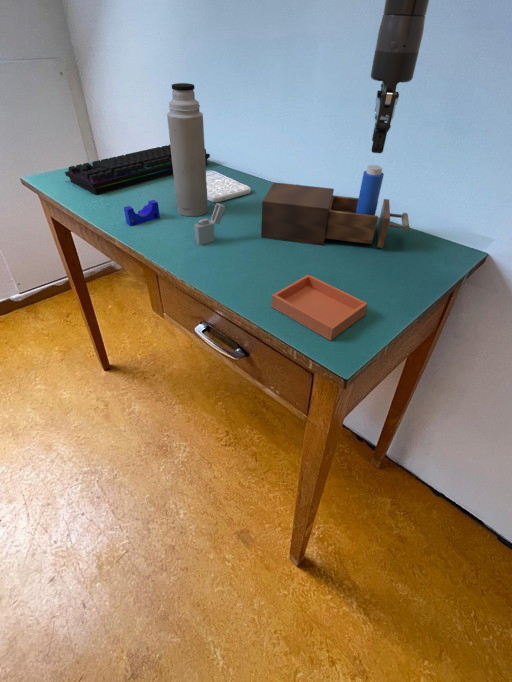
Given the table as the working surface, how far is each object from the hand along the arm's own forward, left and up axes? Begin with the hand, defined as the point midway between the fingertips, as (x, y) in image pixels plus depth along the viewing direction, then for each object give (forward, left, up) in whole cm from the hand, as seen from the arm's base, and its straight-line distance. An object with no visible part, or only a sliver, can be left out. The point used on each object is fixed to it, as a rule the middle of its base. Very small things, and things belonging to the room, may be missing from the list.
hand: (376, 146), depth 81 cm
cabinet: (+15, 0, -20) cm, 25 cm away
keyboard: (+68, -28, -20) cm, 76 cm away
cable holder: (+53, +5, -20) cm, 57 cm away
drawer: (-1, 0, -19) cm, 19 cm away
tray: (+6, +32, -20) cm, 38 cm away
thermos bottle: (+43, -4, -20) cm, 47 cm away
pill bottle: (0, 0, -18) cm, 18 cm away
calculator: (+43, -21, -20) cm, 52 cm away
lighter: (+33, +11, -20) cm, 40 cm away
